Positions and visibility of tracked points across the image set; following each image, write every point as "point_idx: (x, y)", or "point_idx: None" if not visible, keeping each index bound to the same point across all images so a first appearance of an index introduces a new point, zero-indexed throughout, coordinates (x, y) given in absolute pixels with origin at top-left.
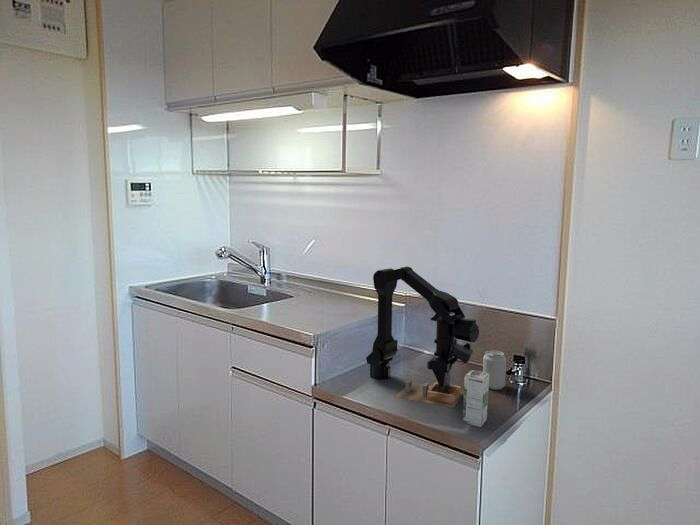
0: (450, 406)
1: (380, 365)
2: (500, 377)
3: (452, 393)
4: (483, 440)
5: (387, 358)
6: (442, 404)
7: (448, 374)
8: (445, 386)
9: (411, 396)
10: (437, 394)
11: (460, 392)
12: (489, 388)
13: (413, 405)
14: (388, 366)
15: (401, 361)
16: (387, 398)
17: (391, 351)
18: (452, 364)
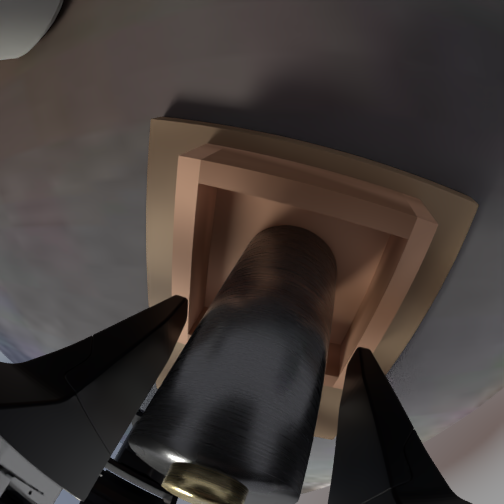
0: (465, 226)
1: (160, 481)
2: None
3: (239, 206)
4: None
5: (141, 496)
6: (433, 276)
7: (291, 404)
8: (329, 320)
9: (321, 403)
10: (378, 335)
11: (180, 144)
12: (59, 6)
13: (392, 385)
14: (133, 455)
15: (24, 352)
16: (321, 441)
17: None
18: (39, 373)
